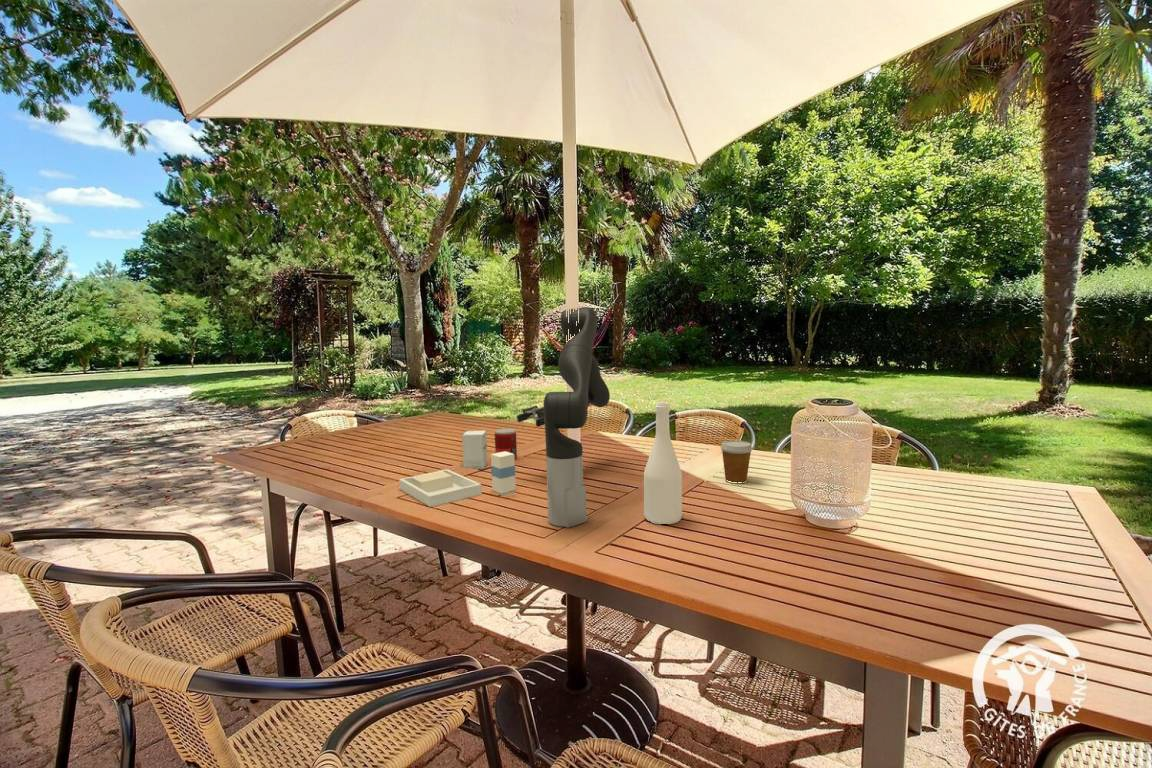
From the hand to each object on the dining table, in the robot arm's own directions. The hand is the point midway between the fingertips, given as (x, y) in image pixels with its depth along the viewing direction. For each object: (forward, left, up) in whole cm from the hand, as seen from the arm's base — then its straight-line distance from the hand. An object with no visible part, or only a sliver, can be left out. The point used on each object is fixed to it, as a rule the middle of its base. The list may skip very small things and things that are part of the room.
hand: (527, 421), depth 163 cm
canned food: (+33, -12, -21) cm, 41 cm away
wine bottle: (-47, -9, -21) cm, 52 cm away
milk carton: (-1, +10, -21) cm, 23 cm away
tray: (+11, +25, -20) cm, 34 cm away
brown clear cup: (-41, -50, -21) cm, 68 cm away
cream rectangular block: (+16, +25, -19) cm, 35 cm away
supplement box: (+31, +2, -21) cm, 38 cm away
